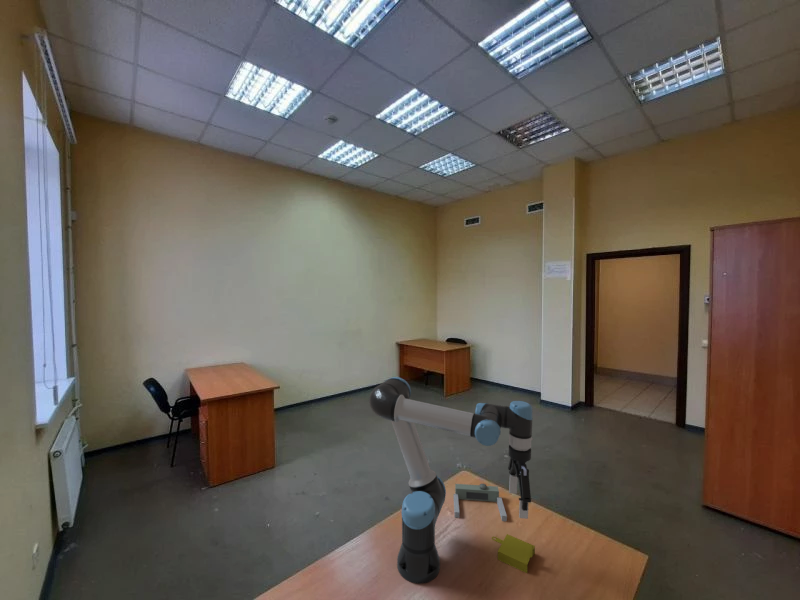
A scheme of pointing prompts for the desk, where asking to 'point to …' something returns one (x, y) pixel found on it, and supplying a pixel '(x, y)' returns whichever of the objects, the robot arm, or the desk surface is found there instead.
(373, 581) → the desk surface
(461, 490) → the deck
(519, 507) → the robot arm
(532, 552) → the bracket
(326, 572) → the desk surface
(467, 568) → the desk surface
